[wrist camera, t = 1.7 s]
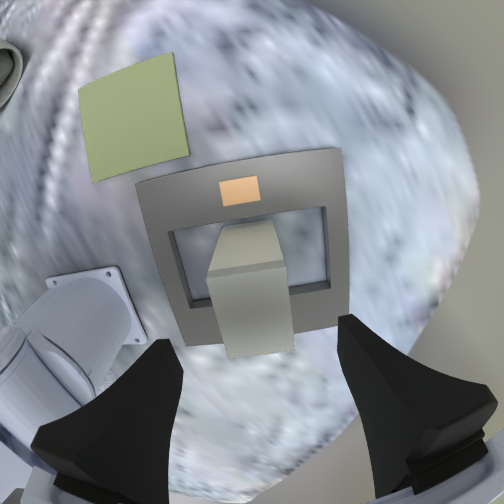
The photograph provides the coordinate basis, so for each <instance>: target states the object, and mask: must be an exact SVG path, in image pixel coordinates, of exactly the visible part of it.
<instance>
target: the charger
mask: <svg viewBox="0 0 504 504" xmlns="http://www.w3.org/2000/svg"><path fill="white" fill-rule="evenodd" d="M206 282H207V286H208V289H209V293H210V297H211V300H212V304H213V307H214V311H215V315H216V318H217V321H218V325H219V328H220V332H221V335H222V338H223V342H224V345H225V348H226V351H227V355H228V358H229V359H231V358H240V357H249V356H257V355H265V354H273V353H279V352H286V351H292V350H295V343H294V333H293V324H292V315H291V306H290V297H289V288H288V280H287V272H286V265H285V262H284V258H283V255H282V251H281V248H280V244H279V241H278V237H277V234H276V231H275V227H274V224H273V220H272V219H268V220H262V221H256V222H250V223H243V224H237V225H231V226H225V227H222V229H221V232H220V236H219V239H218V242H217V245H216V248H215V251H214V254H213V257H212V260H211V263H210V266H209V269H208V273H207V276H206Z"/></svg>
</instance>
